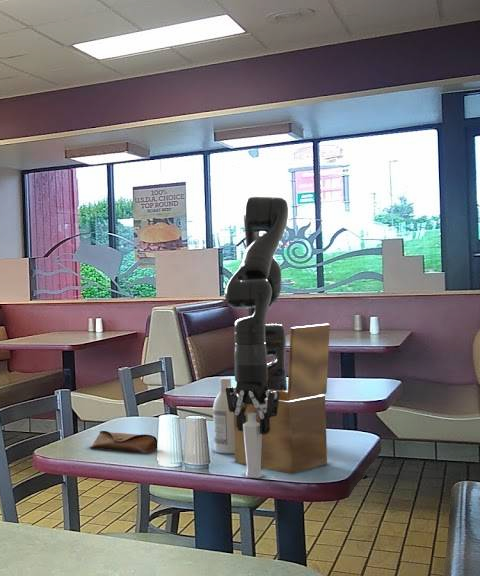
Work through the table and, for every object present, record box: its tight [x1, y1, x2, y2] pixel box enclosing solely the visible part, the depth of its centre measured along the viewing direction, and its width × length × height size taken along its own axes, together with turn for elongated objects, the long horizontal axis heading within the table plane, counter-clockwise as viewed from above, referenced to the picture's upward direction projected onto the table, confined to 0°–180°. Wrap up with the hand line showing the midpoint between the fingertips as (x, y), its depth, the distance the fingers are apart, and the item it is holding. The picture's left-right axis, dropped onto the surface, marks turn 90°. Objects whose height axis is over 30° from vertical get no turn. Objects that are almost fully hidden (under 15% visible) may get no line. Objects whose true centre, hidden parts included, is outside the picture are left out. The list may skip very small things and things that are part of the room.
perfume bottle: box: [243, 413, 263, 479], centre depth 197 cm, size 5×4×15 cm
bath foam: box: [212, 377, 235, 455], centre depth 224 cm, size 7×7×20 cm
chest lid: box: [287, 323, 331, 400], centre depth 201 cm, size 18×15×1 cm
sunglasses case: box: [89, 430, 158, 453], centre depth 233 cm, size 18×7×7 cm
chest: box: [234, 389, 328, 474], centre depth 209 cm, size 17×15×17 cm
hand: (253, 432), depth 197 cm, fingers open, 5 cm apart
